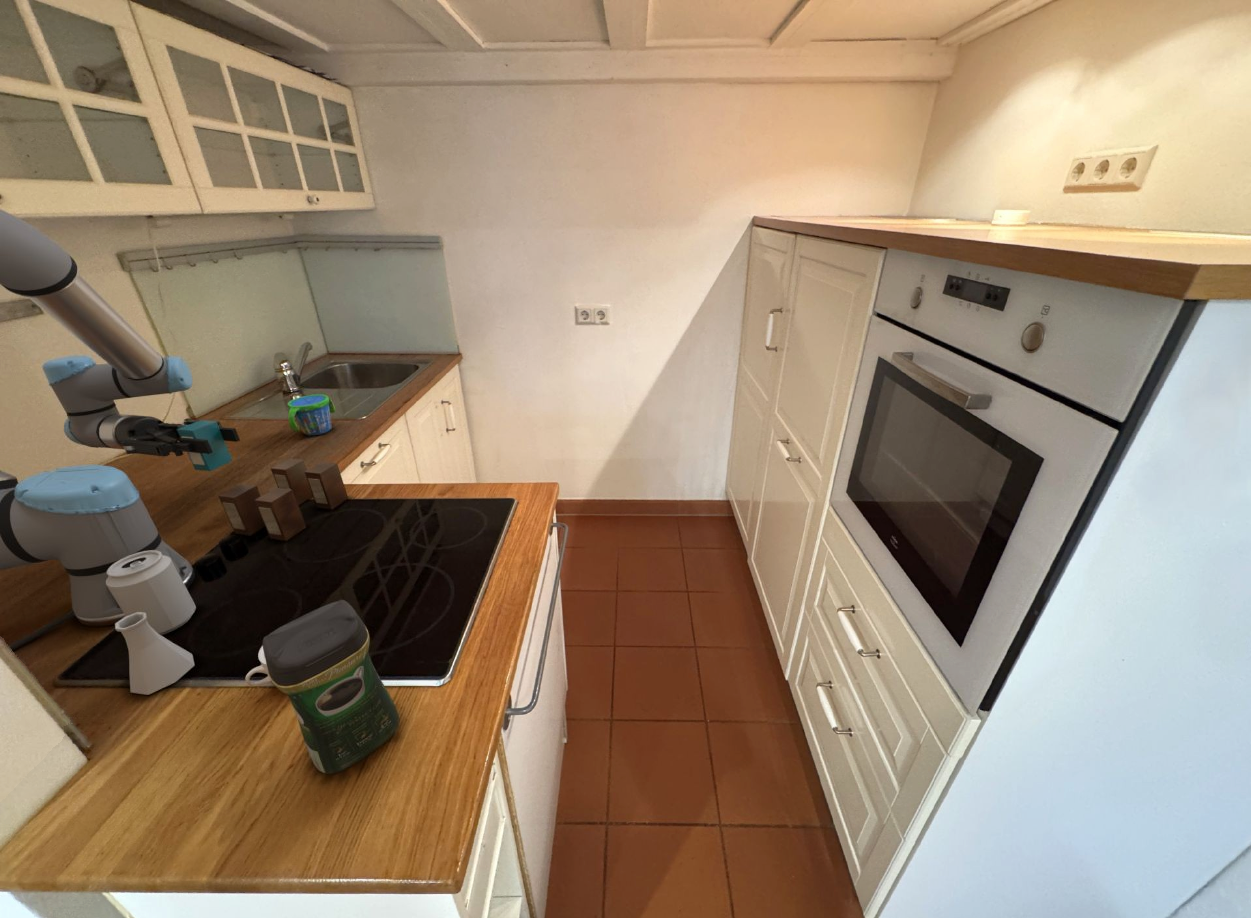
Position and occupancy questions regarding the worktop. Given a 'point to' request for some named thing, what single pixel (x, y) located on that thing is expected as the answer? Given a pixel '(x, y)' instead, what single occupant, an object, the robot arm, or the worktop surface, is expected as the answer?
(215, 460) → the teal rectangular block
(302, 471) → the brown rectangular box
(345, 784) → the worktop surface
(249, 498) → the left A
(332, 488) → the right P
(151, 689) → the flask
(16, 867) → the worktop surface
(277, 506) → the brown wooden block
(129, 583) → the can
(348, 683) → the coffee jar
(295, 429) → the snack cup
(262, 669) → the teacup
